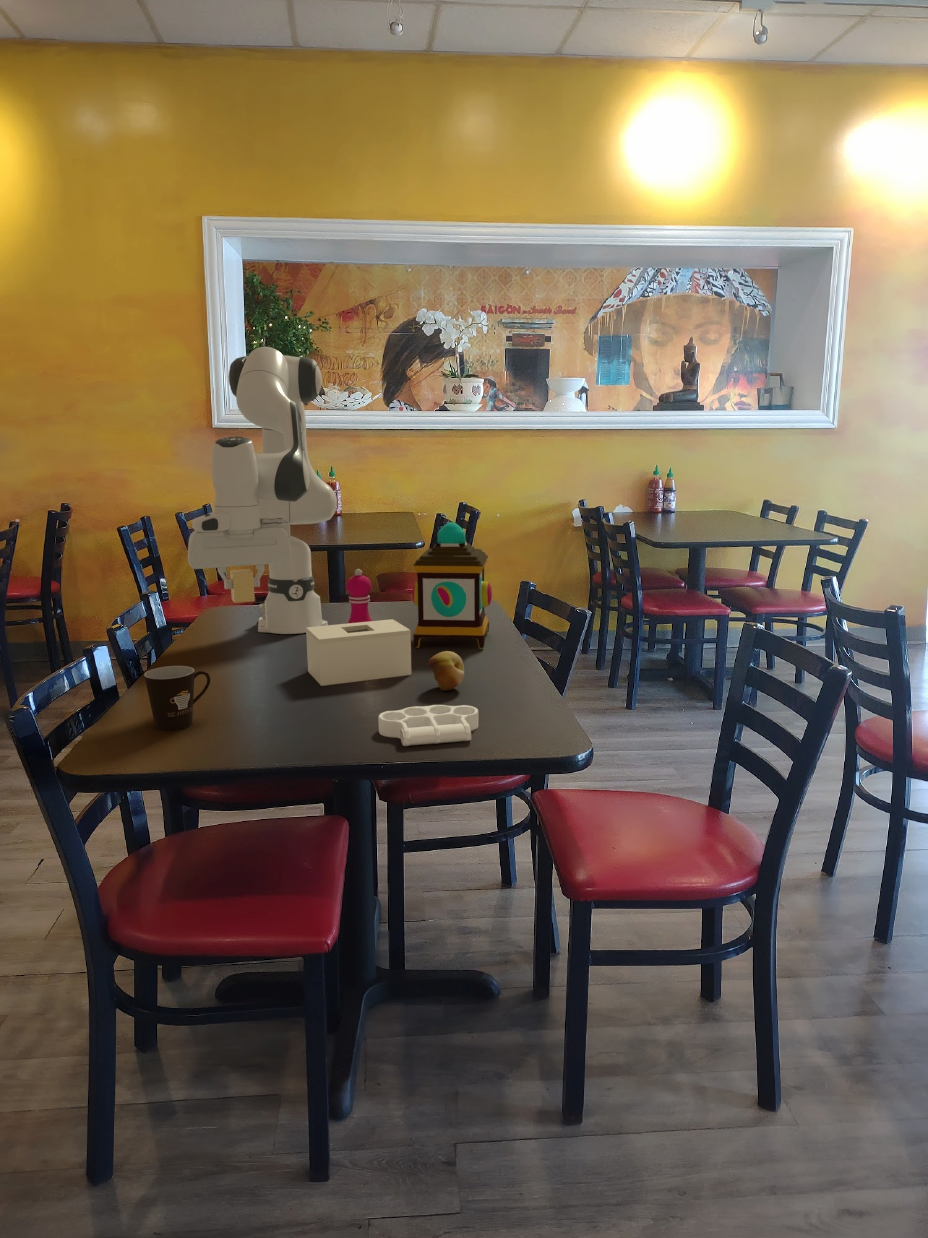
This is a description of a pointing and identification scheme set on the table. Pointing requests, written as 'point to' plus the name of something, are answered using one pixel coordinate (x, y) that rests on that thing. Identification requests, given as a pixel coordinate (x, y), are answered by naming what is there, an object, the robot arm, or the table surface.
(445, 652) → the fruit
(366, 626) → the coin box
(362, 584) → the pepper mill
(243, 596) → the yellow wooden block
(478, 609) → the decorative lantern
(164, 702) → the coffee mug
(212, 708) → the table surface
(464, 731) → the knuckle duster
